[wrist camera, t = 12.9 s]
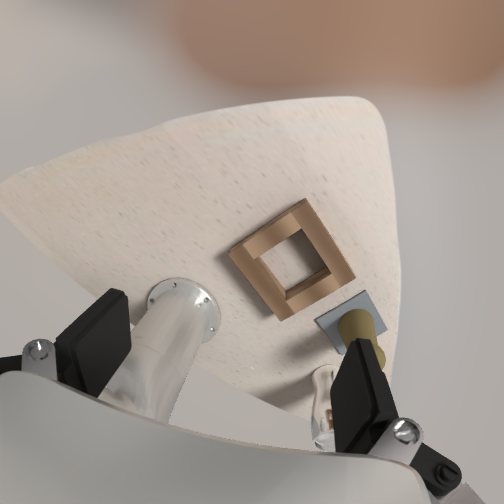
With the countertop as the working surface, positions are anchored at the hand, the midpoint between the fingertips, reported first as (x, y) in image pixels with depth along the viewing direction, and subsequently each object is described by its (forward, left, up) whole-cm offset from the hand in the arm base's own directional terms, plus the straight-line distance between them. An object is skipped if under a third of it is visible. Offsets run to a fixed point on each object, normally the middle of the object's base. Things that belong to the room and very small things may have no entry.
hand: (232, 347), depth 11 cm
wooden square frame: (-2, -8, -30) cm, 31 cm away
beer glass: (-9, -31, -31) cm, 44 cm away
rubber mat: (0, -23, -30) cm, 38 cm away
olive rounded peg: (0, -23, -30) cm, 38 cm away
